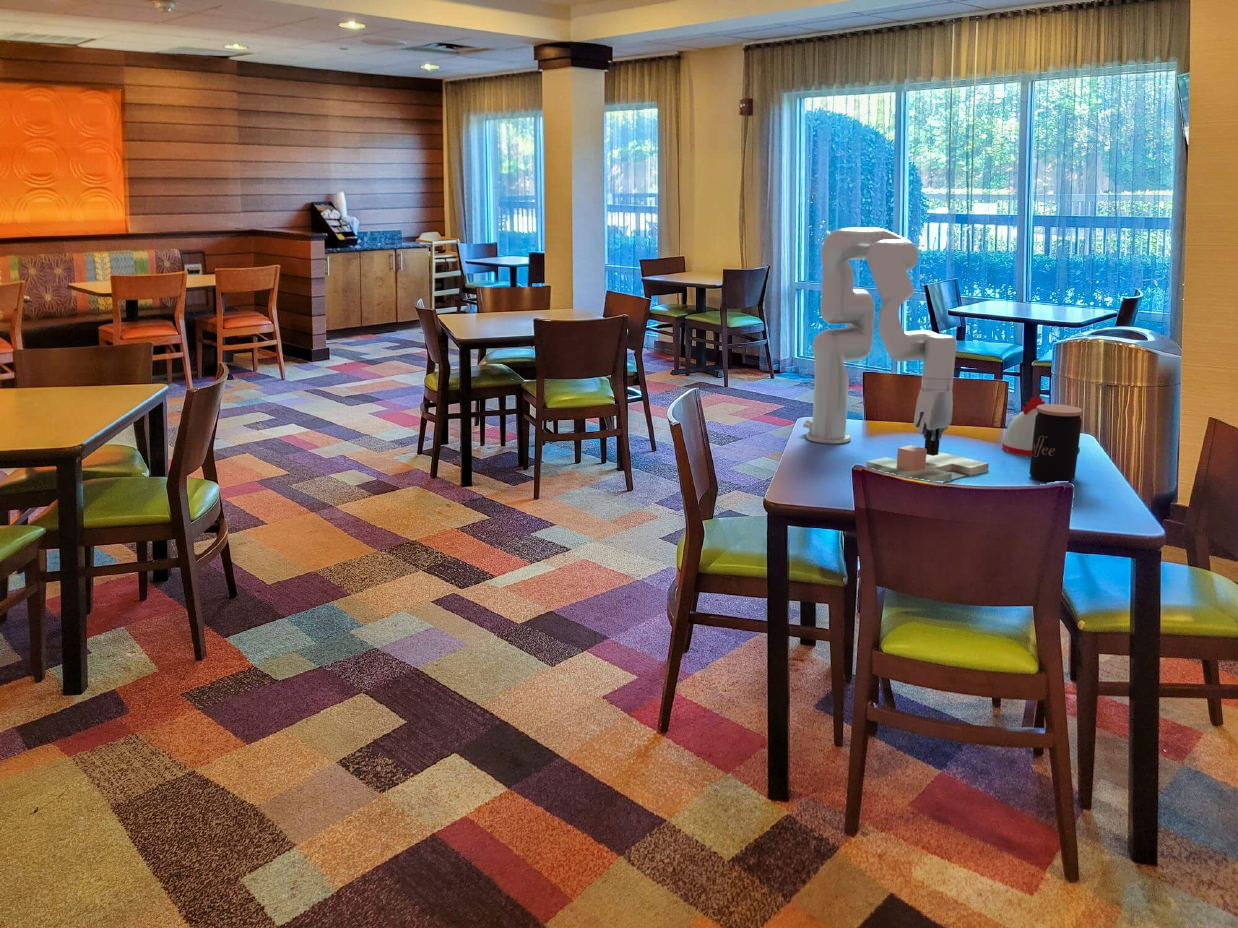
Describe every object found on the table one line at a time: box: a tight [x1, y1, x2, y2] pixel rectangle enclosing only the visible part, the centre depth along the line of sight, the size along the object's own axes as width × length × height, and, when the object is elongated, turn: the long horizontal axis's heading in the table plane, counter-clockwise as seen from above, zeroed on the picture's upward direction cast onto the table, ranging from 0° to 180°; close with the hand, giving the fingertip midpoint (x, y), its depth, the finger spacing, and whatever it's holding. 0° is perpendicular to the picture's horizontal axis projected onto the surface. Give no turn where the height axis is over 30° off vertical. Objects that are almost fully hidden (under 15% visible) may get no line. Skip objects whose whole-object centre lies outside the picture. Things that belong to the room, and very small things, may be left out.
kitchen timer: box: [1001, 396, 1046, 457], centre depth 291 cm, size 14×14×15 cm
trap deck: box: [865, 451, 990, 482], centre depth 270 cm, size 20×24×2 cm
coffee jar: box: [1028, 403, 1084, 484], centre depth 261 cm, size 11×11×18 cm
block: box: [896, 444, 927, 471], centre depth 264 cm, size 5×5×5 cm
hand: (931, 454), depth 271 cm, fingers closed
